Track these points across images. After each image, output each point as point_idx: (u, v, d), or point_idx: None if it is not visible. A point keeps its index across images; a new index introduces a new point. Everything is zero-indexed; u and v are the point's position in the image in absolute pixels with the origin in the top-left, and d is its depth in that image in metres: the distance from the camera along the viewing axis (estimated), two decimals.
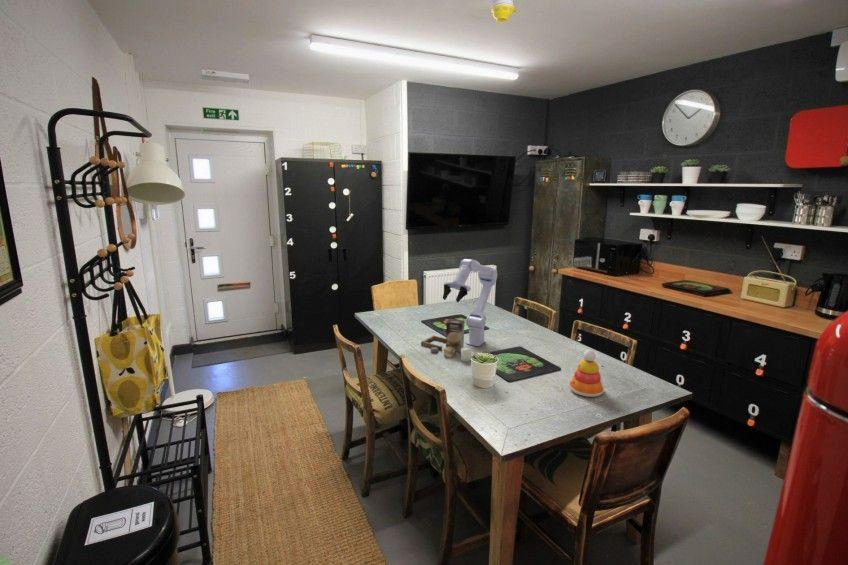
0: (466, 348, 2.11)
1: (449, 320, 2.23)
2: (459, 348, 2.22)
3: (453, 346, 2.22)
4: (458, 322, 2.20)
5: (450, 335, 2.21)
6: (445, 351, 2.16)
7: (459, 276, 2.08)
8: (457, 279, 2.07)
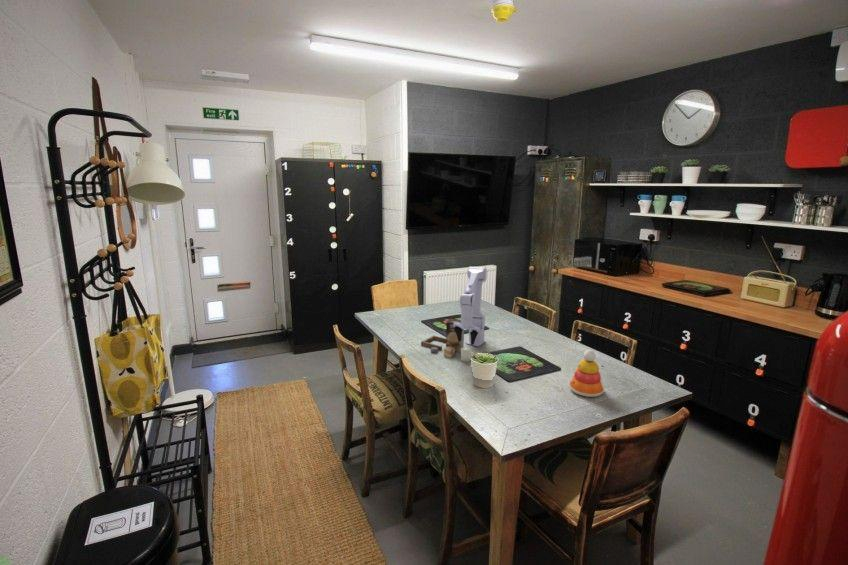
0: (466, 348, 2.11)
1: (449, 320, 2.23)
2: (459, 348, 2.22)
3: (453, 346, 2.22)
4: (458, 322, 2.20)
5: (450, 335, 2.21)
6: (445, 351, 2.16)
7: (464, 320, 2.04)
8: (464, 323, 2.05)
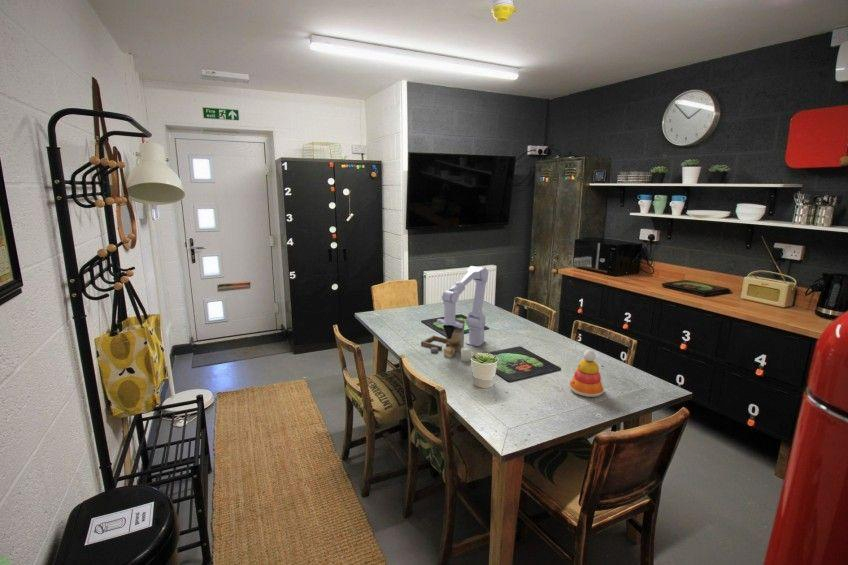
0: (466, 348, 2.11)
1: None
2: (459, 348, 2.22)
3: (453, 346, 2.22)
4: None
5: None
6: (445, 351, 2.16)
7: (447, 316, 2.10)
8: (447, 320, 2.11)
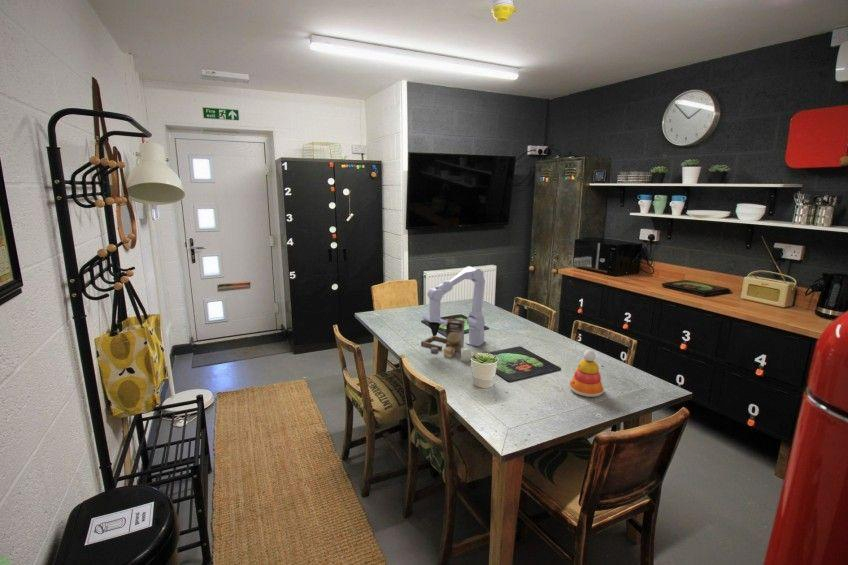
0: (466, 348, 2.11)
1: (449, 320, 2.23)
2: (459, 348, 2.22)
3: (453, 346, 2.22)
4: (458, 322, 2.20)
5: (450, 335, 2.21)
6: (445, 351, 2.16)
7: (432, 313, 2.15)
8: (432, 317, 2.15)
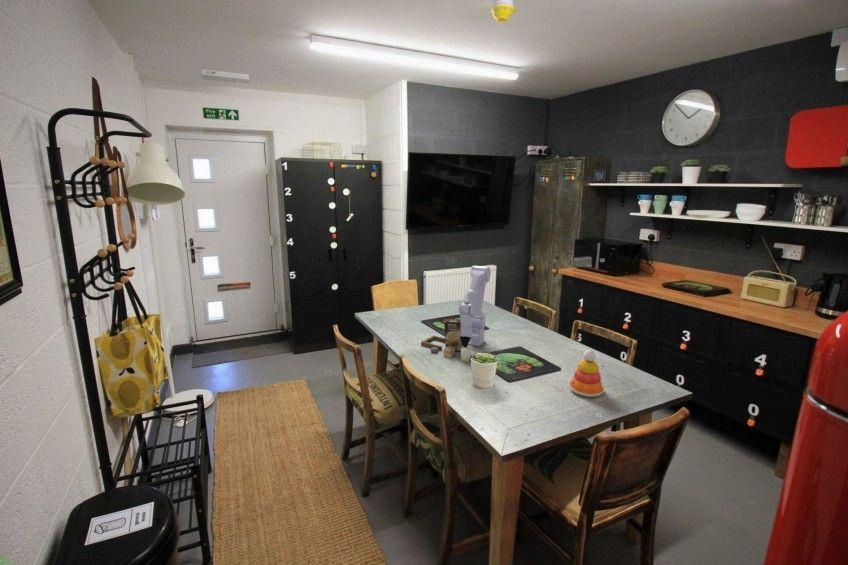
0: (466, 348, 2.11)
1: (447, 320, 2.24)
2: (458, 347, 2.22)
3: (452, 345, 2.22)
4: (456, 321, 2.21)
5: (449, 334, 2.21)
6: (445, 351, 2.16)
7: (464, 328, 2.16)
8: (463, 331, 2.17)
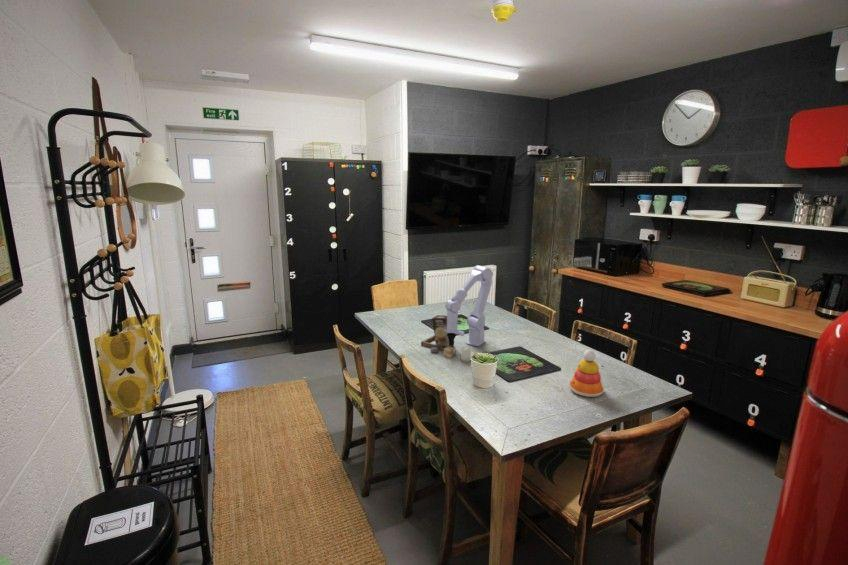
0: (466, 348, 2.11)
1: (436, 316, 2.30)
2: (446, 343, 2.26)
3: (441, 341, 2.27)
4: (443, 317, 2.26)
5: (437, 330, 2.27)
6: (445, 351, 2.16)
7: (450, 324, 2.21)
8: (449, 328, 2.21)
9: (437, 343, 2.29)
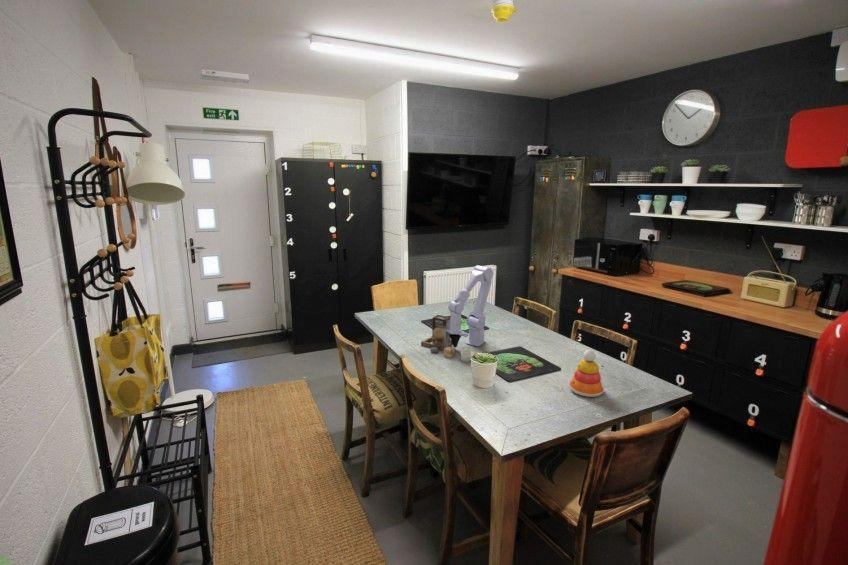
0: (466, 348, 2.11)
1: (437, 316, 2.31)
2: (443, 344, 2.28)
3: (438, 341, 2.29)
4: (443, 318, 2.26)
5: (436, 330, 2.28)
6: (445, 351, 2.16)
7: (453, 326, 2.20)
8: (453, 329, 2.21)
9: (434, 342, 2.31)
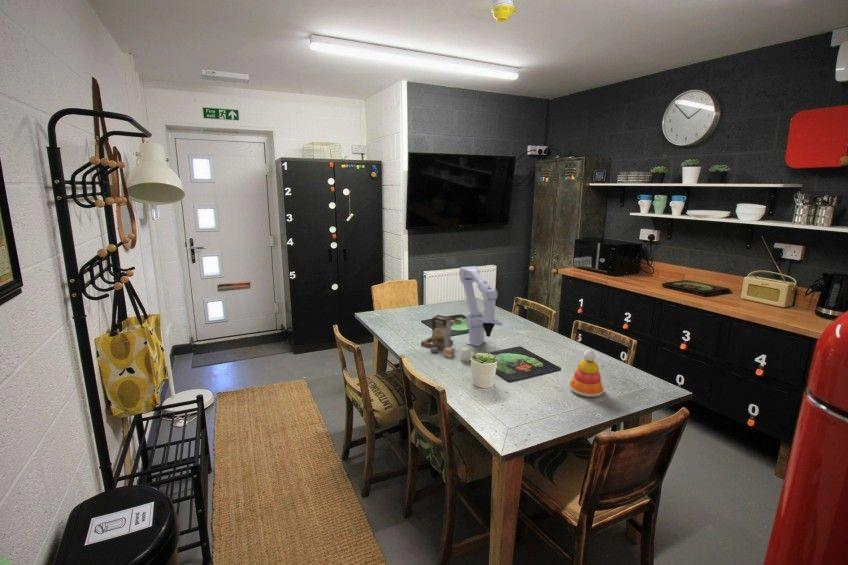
0: (466, 348, 2.11)
1: (437, 316, 2.31)
2: (443, 344, 2.28)
3: (438, 341, 2.29)
4: (443, 318, 2.26)
5: (436, 330, 2.28)
6: (445, 351, 2.16)
7: (487, 314, 2.13)
8: (487, 318, 2.14)
9: (434, 342, 2.31)
